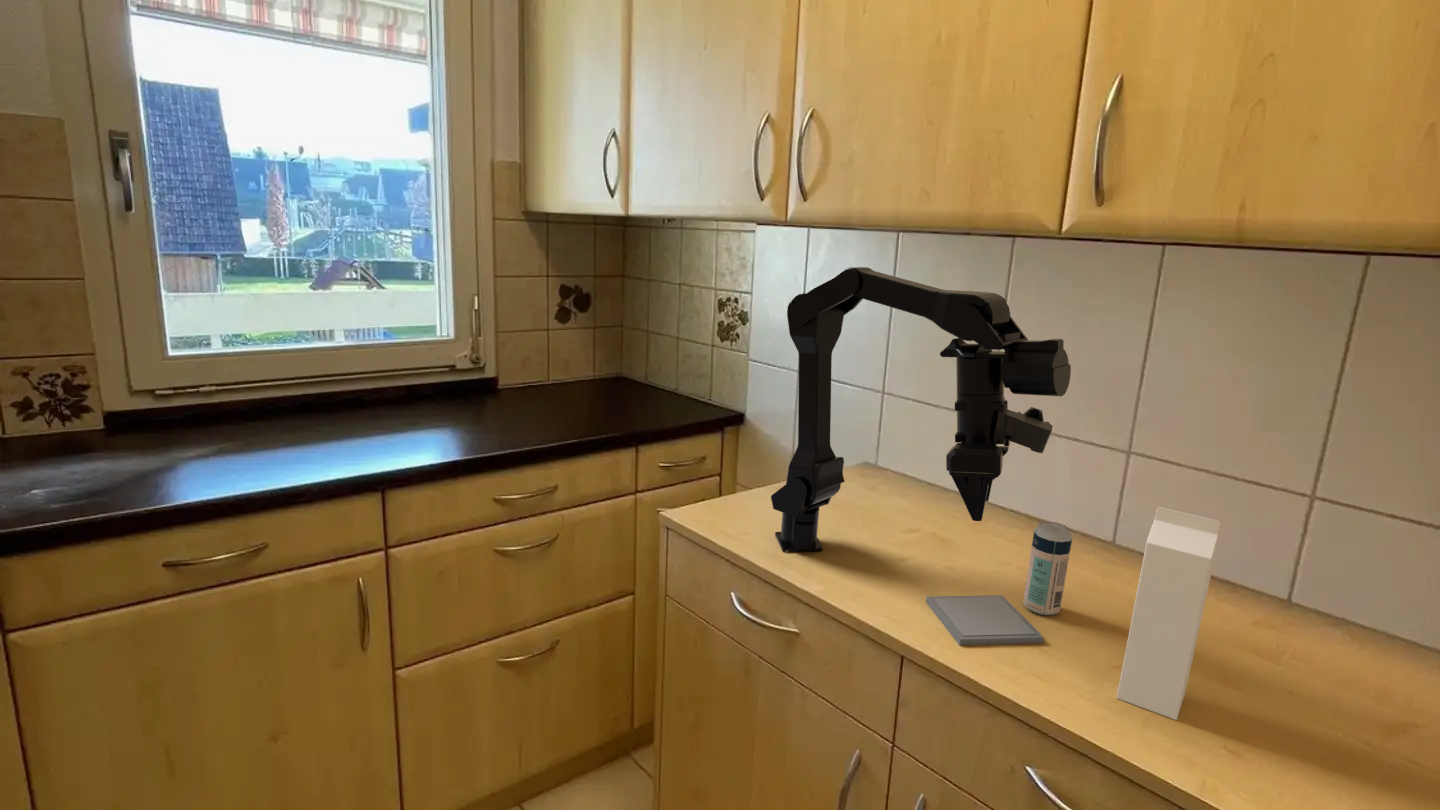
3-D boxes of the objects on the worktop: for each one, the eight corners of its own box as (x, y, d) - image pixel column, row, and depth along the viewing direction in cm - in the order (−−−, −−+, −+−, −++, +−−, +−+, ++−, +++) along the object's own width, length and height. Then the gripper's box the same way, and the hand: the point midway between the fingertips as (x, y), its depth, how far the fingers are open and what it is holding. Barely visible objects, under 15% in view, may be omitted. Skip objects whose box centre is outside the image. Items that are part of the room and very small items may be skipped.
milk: (1126, 675, 91) (1160, 498, 86) (1185, 696, 88) (1224, 513, 82) (1115, 699, 86) (1150, 513, 81) (1177, 722, 83) (1218, 529, 78)
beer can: (1057, 603, 108) (1070, 523, 105) (1062, 620, 103) (1076, 536, 100) (1020, 598, 109) (1033, 518, 106) (1024, 614, 104) (1037, 531, 102)
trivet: (925, 601, 106) (926, 595, 106) (1001, 600, 108) (1002, 594, 108) (959, 645, 96) (960, 638, 96) (1042, 643, 97) (1043, 636, 97)
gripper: (1046, 404, 87) (1046, 537, 90) (1049, 382, 104) (1049, 495, 107) (945, 403, 92) (946, 530, 94) (963, 382, 109) (964, 490, 111)
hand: (980, 510), depth 101 cm, fingers open, 9 cm apart
